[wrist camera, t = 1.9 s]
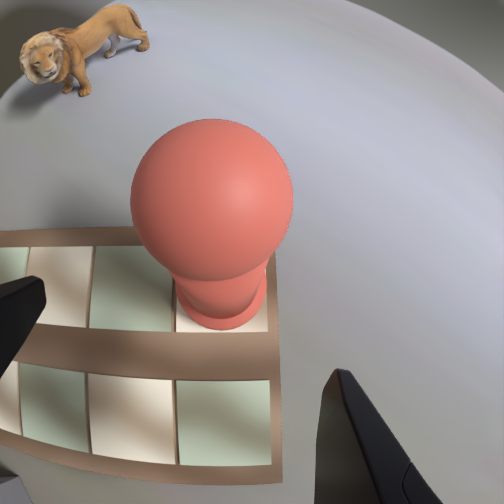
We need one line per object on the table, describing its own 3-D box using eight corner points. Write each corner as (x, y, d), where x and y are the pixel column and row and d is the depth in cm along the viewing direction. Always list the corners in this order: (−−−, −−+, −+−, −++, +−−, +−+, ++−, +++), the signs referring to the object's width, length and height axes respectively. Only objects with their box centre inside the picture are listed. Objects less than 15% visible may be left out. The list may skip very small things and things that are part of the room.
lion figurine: (68, 128, 24) (30, 56, 15) (37, 116, 24) (0, 52, 16) (163, 38, 28) (154, -29, 20) (128, 32, 29) (115, -29, 21)
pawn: (266, 330, 18) (337, 263, 6) (177, 330, 18) (77, 264, 6) (262, 246, 20) (307, 81, 8) (180, 247, 19) (120, 84, 7)
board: (279, 476, 16) (282, 483, 15) (-21, 430, 15) (-31, 432, 13) (271, 232, 22) (274, 224, 20) (-10, 237, 20) (-19, 231, 19)
